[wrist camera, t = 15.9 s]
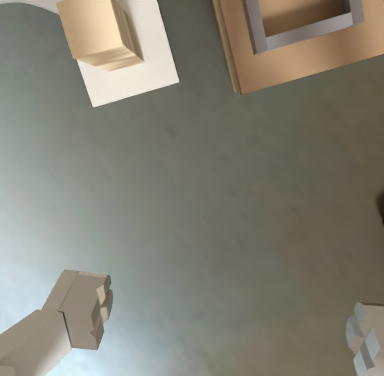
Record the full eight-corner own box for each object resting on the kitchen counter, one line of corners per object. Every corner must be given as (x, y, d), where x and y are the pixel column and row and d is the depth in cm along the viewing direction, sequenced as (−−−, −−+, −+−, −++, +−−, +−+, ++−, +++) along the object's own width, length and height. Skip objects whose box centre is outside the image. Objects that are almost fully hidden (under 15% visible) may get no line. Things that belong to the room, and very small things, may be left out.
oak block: (134, 23, 32) (106, -13, 22) (144, 62, 33) (122, 44, 23) (98, 33, 32) (55, 2, 23) (109, 71, 33) (72, 58, 24)
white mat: (152, -15, 32) (152, -17, 31) (179, 81, 34) (179, 81, 33) (63, 14, 33) (61, 12, 32) (94, 106, 35) (93, 106, 34)
